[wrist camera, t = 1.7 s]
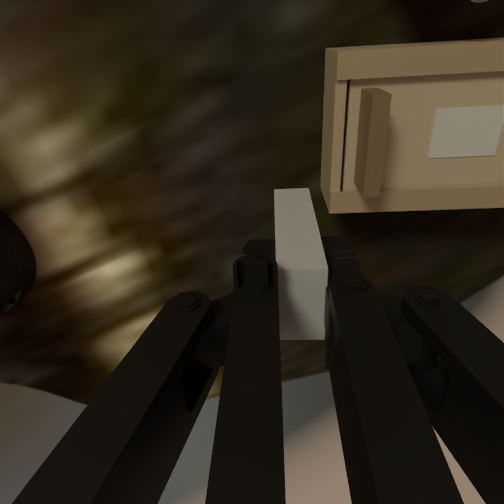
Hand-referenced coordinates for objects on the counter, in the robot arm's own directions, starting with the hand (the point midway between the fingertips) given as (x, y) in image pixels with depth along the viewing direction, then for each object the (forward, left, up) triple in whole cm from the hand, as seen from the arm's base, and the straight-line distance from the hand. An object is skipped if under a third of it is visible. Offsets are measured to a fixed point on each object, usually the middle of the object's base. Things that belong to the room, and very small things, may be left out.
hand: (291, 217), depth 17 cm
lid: (+12, 0, -15) cm, 19 cm away
